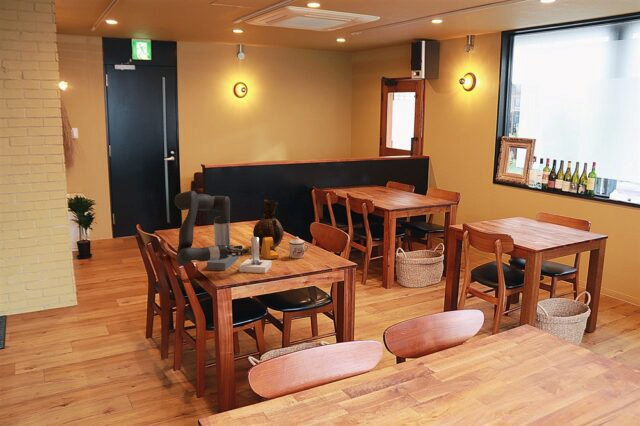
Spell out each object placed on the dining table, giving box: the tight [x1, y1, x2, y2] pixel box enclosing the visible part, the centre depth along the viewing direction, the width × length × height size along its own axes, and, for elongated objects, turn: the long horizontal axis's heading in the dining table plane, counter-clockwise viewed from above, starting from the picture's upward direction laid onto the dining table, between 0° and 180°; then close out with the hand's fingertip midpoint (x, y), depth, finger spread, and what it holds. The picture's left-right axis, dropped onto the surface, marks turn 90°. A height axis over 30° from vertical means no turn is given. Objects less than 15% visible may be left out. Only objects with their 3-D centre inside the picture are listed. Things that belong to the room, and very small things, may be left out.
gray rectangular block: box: [206, 255, 240, 271], centre depth 314 cm, size 24×10×4 cm, turn 171°
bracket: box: [260, 237, 280, 260], centre depth 327 cm, size 11×7×12 cm, turn 24°
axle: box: [250, 236, 260, 265], centre depth 304 cm, size 4×4×17 cm
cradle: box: [238, 258, 273, 274], centre depth 305 cm, size 14×14×3 cm
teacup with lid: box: [288, 236, 310, 259], centre depth 330 cm, size 12×9×12 cm
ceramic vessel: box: [252, 199, 285, 250], centre depth 346 cm, size 21×18×30 cm
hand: (245, 249), depth 300 cm, fingers open, 8 cm apart
